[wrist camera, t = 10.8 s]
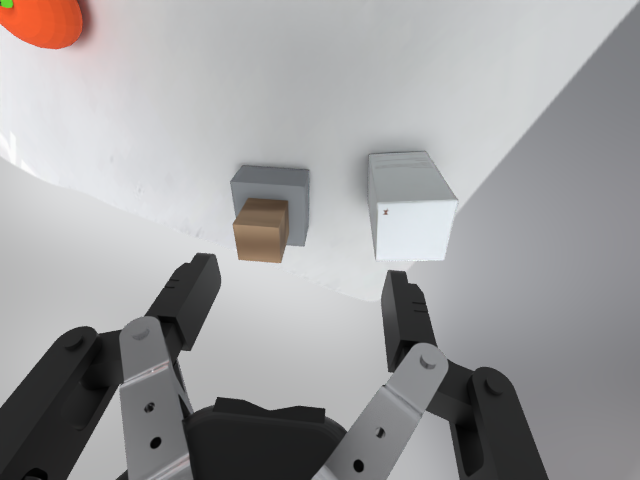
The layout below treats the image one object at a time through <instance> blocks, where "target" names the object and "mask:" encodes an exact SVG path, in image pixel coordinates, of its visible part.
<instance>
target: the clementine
mask: <svg viewBox="0 0 640 480" xmlns="http://www.w3.org/2000/svg"><path fill="white" fill-rule="evenodd" d="M0 24H1V25H2V26H3V27H5V28H6V29H7V30H8V31H9V32H11V33H12V34H13V35H14V36H16V37H18V38H19V39H21V40H23V41H25V42H27V43H30V44H32V45H35V46H37V47H40V48H49V49H60V48H64V47H67V46H70V45H72V44H73V43H74V42H75V41H76V40H77V39H78V38H79V36H80V34H81V32H82V26H83V21H82V14H81V10H80V7H79V4H78V2H77V0H0Z"/></svg>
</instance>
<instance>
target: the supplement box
mask: <svg viewBox="0 0 640 480" xmlns="http://www.w3.org/2000/svg"><path fill="white" fill-rule="evenodd" d="M458 202H459V201H458V199H457V198H456V196H455V195H454V193H453V192H452V190H451V189H450V187H449V186H448V184H447V183H446V181H445V180H444V178H443V176H442V175H441V173H440V172H439V170H438V169H437V167H436V166H435V164H434V163H433V161H432V160H431V158H430V157H429V155H428V154H427V152H404V153H385V154H369V171H368V207H369V215H370V222H371V230H372V238H373V246H374V253H375V260H376V261H435V260H436V261H443V260H444V259H445V254H446V250H447V245H448V241H449V236H450V233H451V229H452V225H453V221H454V218H455V214H456V210H457V206H458Z"/></svg>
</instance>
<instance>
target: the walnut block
mask: <svg viewBox="0 0 640 480" xmlns="http://www.w3.org/2000/svg"><path fill="white" fill-rule="evenodd" d="M233 229H234V235H235V241H236V247H237V253H238V259H239V260H248V261H260V262H273V263H281V261H282V257H283V254H284V250H285V247H286V243H287V240H288V236H289V211H288V201H286V200H272V199H258V198H248V199H247V201H246V202H245V204H244V206H243V207H242V209H241V211H240V213H239V214H238V216H237V218H236V219H235V221H234V223H233Z"/></svg>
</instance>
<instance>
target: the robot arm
mask: <svg viewBox="0 0 640 480" xmlns="http://www.w3.org/2000/svg"><path fill="white" fill-rule="evenodd" d="M220 286H221V275H220V271H219V267H218V263H217V259H216V256H215V255H214V254H207V253H197V254H196V255H195V256H194V258H193V260H192V261H191V263H184V264H183V265H181V266H180V267H179V268H178V269H176V270H175V272H174V273H173V274H172V276H171V277H170V279H169V281H168V282H167V283H166V285H165V287H164V288H163V289H162V291H161V292H160V294H159V295H158V297H157V298H156V300H155V301H154V303H153V304H152V305H151V307H150V309H149V310H148V311H147V313H146V314H145V316H144V317H140V318H137V319H135V320H133V321H131V322H130V323H128V324H127V325H126V326H125V327H124V328H123V329H122V330H117V331H111V332H106V333H100V334H98V333H97V332H96V331H95V329H93V328H92V327H88V326H84V327H78V328H74V329H72V330H70V331H68V332H66V333H65V334H63V335H61V336H60V337H59V338H58V339H57V340H56V341H55V342H54V343H53V345H52V346H51V347H50V348H49V349H48V351H47V352H46V353H45V354H44V356H43V357H42V358H41V359H40V360H39V362H38V363H37V364H36V365H35V367H34V368H33V369H32V370H31V371H30V373H29V374H28V375H27V376H26V378H25V379H24V380H23V381H22V382H21V384H20V385H19V386H18V387H17V388H16V390H15V391H14V392H13V393H12V395H11V396H10V397H9V398H8V399H7V401H6V402H5V403H4V404H3V405H2V407H1V408H0V480H67V478H68V476H69V474H70V472H71V471H72V469H73V467H74V465H75V463H76V462H77V460H78V458H79V456H80V454H81V452H82V451H83V449H84V447H85V445H86V443H87V442H88V440H89V438H90V436H91V434H92V433H93V431H94V429H95V427H96V425H97V424H98V422H99V420H100V418H101V417H102V415H103V413H104V411H105V409H106V408H107V406H108V404H109V402H110V400H111V399H112V397H113V395H114V393H115V391H116V389H117V388H118V386H119V384H121V385H120V401H121V411H122V419H123V420H122V421H123V430H124V440H125V449H126V458H127V468H128V469H127V470H126V471H125V472H124V473H123V474H122V475H120V476H119V477H118V478H117V479H116V480H386V479H387V478H388V476H389V474H390V472H391V470H392V469H393V467H394V465H395V464H396V462H397V460H398V458H399V456H400V455H401V453H402V451H403V450H404V448H405V446H406V444H407V442H408V441H409V439H410V437H411V435H412V434H413V432H414V430H415V428H416V427H417V425H418V423H419V421H420V419H421V418H422V415H423V413H424V412H425V410H426V411H428V412H430V413H433V414H435V415H437V416H439V417H441V418H444V419H446V420H448V421H449V424H450V430H451V435H452V440H453V446H454V451H455V456H456V462H457V467H458V473H459V478H460V480H549V479H548V477H547V474H546V471H545V468H544V466H543V463H542V460H541V458H540V455H539V453H538V450H537V447H536V444H535V442H534V439H533V437H532V434H531V431H530V428H529V426H528V423H527V420H526V418H525V415H524V413H523V410H522V407H521V405H520V402H519V399H518V397H517V394H516V391H515V389H514V386H513V385H512V383H511V382H510V381H509V379H508V378H507V377H506V376H505V375H503V374H502V373H501V372H499V371H497V370H495V369H493V368H489V367H480V368H478V369H476V370H475V371H472V370H469V369H467V368H464V367H462V366H460V365H457V364H455V363H453V362H451V361H450V360H448V359H447V358H446V356H445V355H444V353H443V352H442V351H441V350H440V349H438V347H437V344H436V341H435V337H434V333H433V329H432V325H431V321H430V317H429V314H428V309H427V306H426V302H425V298H424V294H423V292H422V291H421V289H420V288H419V287H418V286H417V284H410V283H408V280H407V275H406V272H405V271H394V270H388V272H387V276H386V279H385V283H384V287H383V291H382V297H381V306H382V317H383V326H384V336H385V345H386V355H387V363H388V372H393V375H392V376H391V377H390V379H389V380H388V381H387V383H386V384H385V385H383V386H381V388H380V389H379V390H378V391H377V393H376V394H375V395H374V397H373V398H372V400H371V401H370V402H369V404H368V405H367V406H366V408H365V409H364V410H363V412H362V413H361V414H360V416H359V417H358V419H357V420H356V422H355V423H354V424H353V425H352V427H351V428H350V430H349V431H348V432H347V431H346V430H345V429H344V428H343V427H342V426H341V425H339V424H338V423H337V422H335V421H334V420H332V419H330V418H328V417H326V416H325V409H324V408H315V407H306V406H294V407H289V408H283V409H277V410H266V409H264V408H261V407H259V406H257V405H254V404H252V403H250V402H247V401H245V400H240V399H231V398H221V397H217V399H216V402H215V405H213V406H209V407H206V408H203V409H201V410H199V411H196V412H195V413H194V411H193V409H192V406H191V403H190V401H189V398H188V394H187V391H186V387H185V384H184V380H183V376H182V373H181V369H180V365H179V362H178V359H177V357H178V355H179V353H180V351H181V350H184V351H191V349H192V347H193V345H194V343H195V340H196V338H197V336H198V334H199V332H200V330H201V328H202V325H203V323H204V321H205V319H206V317H207V315H208V313H209V311H210V309H211V306H212V304H213V302H214V300H215V298H216V296H217V294H218V292H219V289H220ZM122 383H123V384H122Z"/></svg>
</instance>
